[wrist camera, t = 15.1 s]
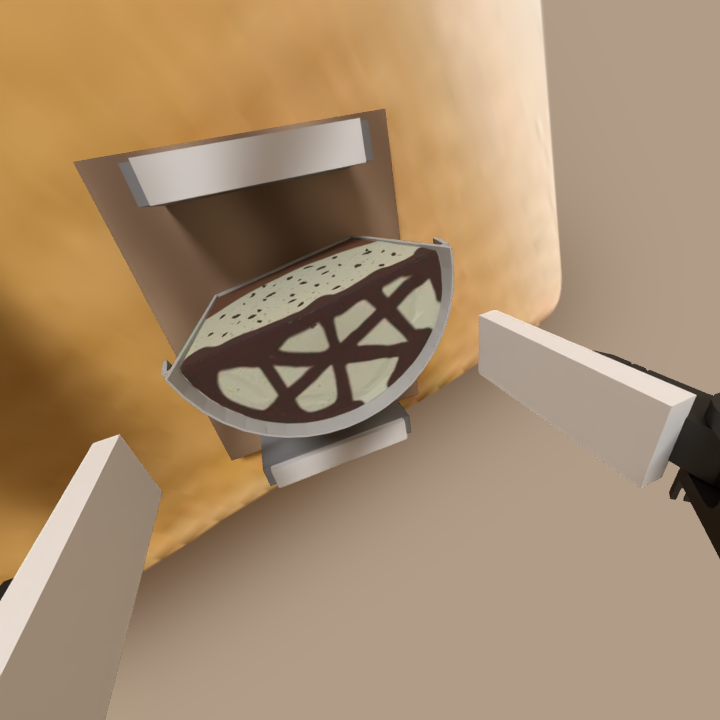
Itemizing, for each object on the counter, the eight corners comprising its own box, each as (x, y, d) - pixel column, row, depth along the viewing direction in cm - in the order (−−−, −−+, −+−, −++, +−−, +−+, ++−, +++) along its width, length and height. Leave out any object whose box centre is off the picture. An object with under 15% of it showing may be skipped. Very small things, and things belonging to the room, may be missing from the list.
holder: (232, 447, 26) (229, 519, 20) (86, 165, 16) (-2, 144, 11) (410, 385, 29) (452, 431, 23) (375, 115, 19) (433, 76, 14)
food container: (243, 383, 22) (243, 494, 14) (190, 305, 19) (149, 387, 11) (398, 308, 24) (485, 368, 15) (373, 225, 21) (463, 241, 12)
